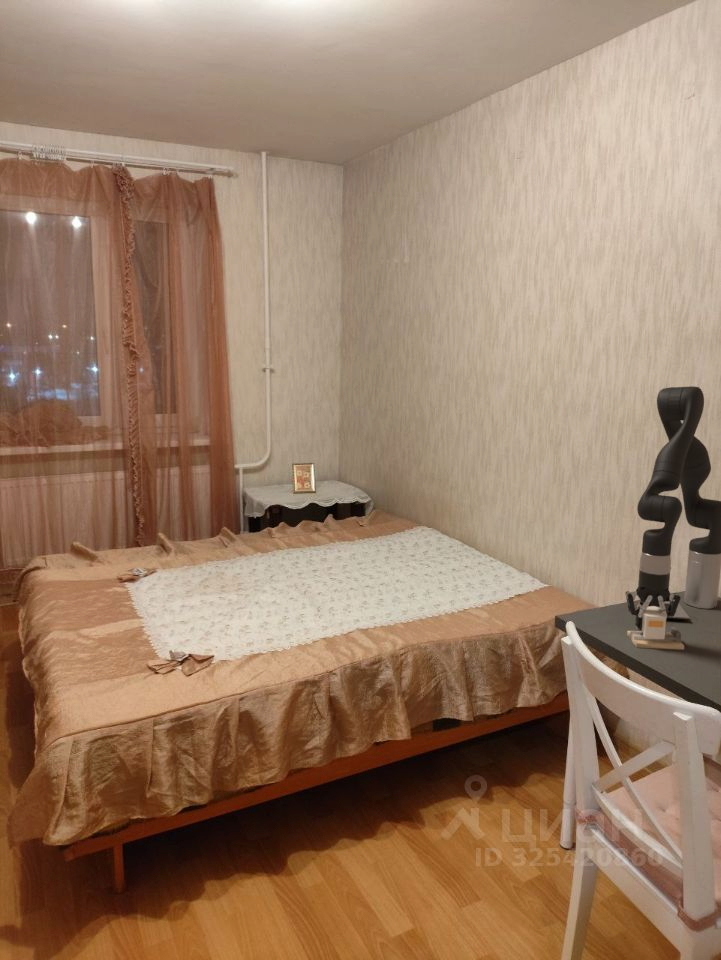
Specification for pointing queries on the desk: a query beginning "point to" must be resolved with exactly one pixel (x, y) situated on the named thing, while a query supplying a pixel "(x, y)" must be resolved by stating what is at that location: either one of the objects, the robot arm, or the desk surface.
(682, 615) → the electrical outlet
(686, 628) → the desk surface
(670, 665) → the desk surface
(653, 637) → the white rectangular block
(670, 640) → the rail board
